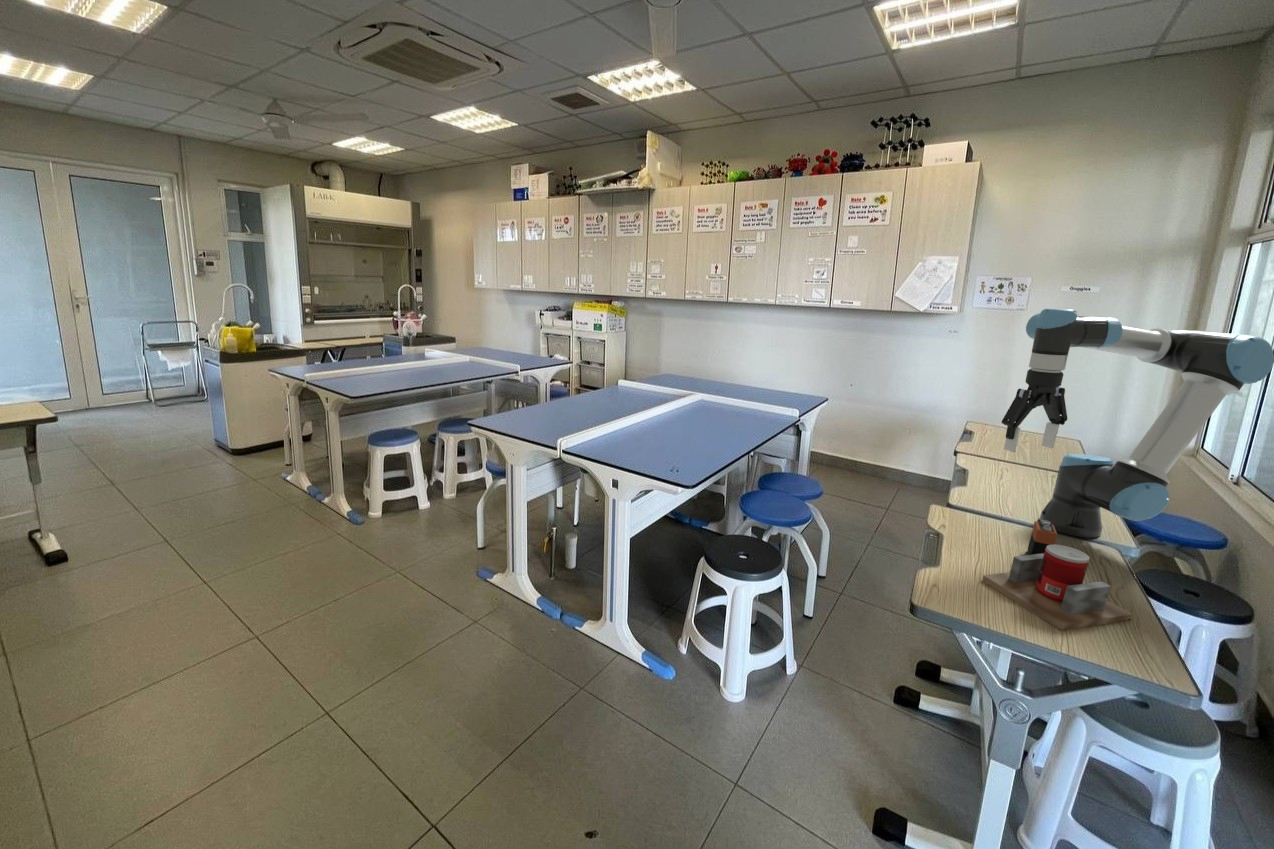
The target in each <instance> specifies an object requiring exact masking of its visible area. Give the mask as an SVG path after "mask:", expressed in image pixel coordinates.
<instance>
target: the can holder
mask: <svg viewBox="0 0 1274 849" xmlns="http://www.w3.org/2000/svg"><path fill="white" fill-rule="evenodd" d="M1043 556H1044V553H1043V554H1034V555H1029V554H1028V555H1027V554H1026V555H1025V554H1024V555H1017V556H1016V555H1015V556H1013V558H1012V563H1011V564H1012V565H1011V568H1010V571H1008V572H1001V573H1000V572H998V573H991V574H984V575H982V580H981V581H982V582H983V583H985V584H987V585H988V586H990V587H991V588H992V589H994V590H997V591H998V592H999V593H1001V594H1002V595H1004V596H1005V597H1007V598H1009V599H1010V600H1012V601H1013V602H1015V603H1016V604H1018V605H1020V606H1022V607H1023V608H1025V609H1026V610H1028V611H1029V612H1030V613H1032V614H1034V615H1035V616H1037V617H1038V618H1040V619H1042V620H1043V621H1045V622H1047V623H1048V624H1049V625H1051V626H1053V627H1055V628H1056V629H1058V630H1060V631H1069V630H1075V629H1081V628H1082V629H1083V628H1087V627H1093V626H1099V625H1106V624H1112V623H1120V622H1124V620H1126V621H1129V620H1128V619H1131V620H1132V617H1133V613H1132V612H1129V611H1128V610H1126V609H1124V608H1123V607H1120V606H1119V605H1117V604H1115V603H1113V602H1111V601H1110V600H1108V597H1109V593H1110V590H1111V587H1112V586H1111V585H1110V584H1108V583H1106V582H1105V581H1095V582H1092V581H1091V582H1088V583H1087V582H1086V583H1083V584H1077V585H1070V586H1067V588H1066V591H1065V595H1064V599H1063V602H1058V601H1054V600H1051V599H1049V598H1047V597H1045V596H1043V595H1042V594H1040V593H1039V592H1038V591H1037V588H1036V583H1037V579H1038V576H1039V572H1040V568H1041V564H1042V560H1043ZM1119 621H1120V622H1119Z"/></svg>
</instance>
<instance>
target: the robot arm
mask: <svg viewBox="0 0 1274 849" xmlns="http://www.w3.org/2000/svg"><path fill="white" fill-rule="evenodd" d="M1025 331H1026V335H1027V336H1028V337H1029V338H1031V339H1033V343H1032V349H1031V354H1030V359H1029V364H1028V367H1029V368H1030V369H1028V370H1027V372H1026V377H1025V384H1027V385H1028V387H1027V389H1024V388H1023V389H1022V388H1018V389H1017V391H1016V394H1015V397H1014V398H1013V400H1012V403H1011V404H1010V406H1009V408H1007V411H1006V413H1005V414H1004V416H1003V418H1002V419H1001V424H1002V425H1004V426H1006V427H1007V428H1006V432H1005V443H1004V446H1003V450H1004V451H1009V452H1010V453H1011V452H1012V453H1015V452H1017V447H1018V442H1019V438H1020V432H1021V427H1019V426H1020V425H1021V424H1022V422H1023V421H1024V420H1025V419H1026V418H1027V417H1028V416H1029V414H1030V413H1031V412H1032V410H1033V409H1036V408H1037V407H1041V406H1042V407H1043V409H1044V411H1045V414H1046V416H1047V418H1048V420H1049V421H1047V422H1046V423H1045V428H1044V433H1043V437H1042V442H1041V447H1042V446H1043V447H1045V448H1050V449H1054V448H1055V444H1056V439H1057V435H1058V433H1059V428H1060V425H1062V426H1063V425H1064V424H1065V423H1066V422H1067V421H1068V412H1067V405H1066V399H1065V395H1066V394H1065V392H1066V388H1065V387H1060V386H1062V383H1063V379H1064V373H1063V371H1065V370H1066V367H1067V366H1066V365H1067V361H1068V357H1069V352H1070V348H1085V349H1088V350H1089V349H1090V350H1096V351H1101V352H1105V353H1106V352H1107V353H1111V354H1119V355H1124V356H1130V357H1134V358H1137V360H1139V362H1143V363H1148V364H1152V365H1157V366H1159V367H1164V368H1167V369H1169V370H1170V369H1171V370H1174V371H1177V372H1180V373H1181V374H1180V376H1181V377H1182V380H1183V382H1182V384H1181V385H1180V387H1179V388H1178V390H1177V391H1176V392H1175V393H1174V394H1173V397H1171V399H1170V400H1169V401H1168V403H1167V404H1166V406H1165V407H1164V409H1163V410H1162V412H1160V414H1158V417H1156V420H1155V421H1154V422H1153V424H1152V425H1151V426H1150V428H1149V429H1148V431H1147V432H1146V433H1145V434H1144V436H1143V437H1142V438H1141V440H1140V441H1139V442H1138V445H1136V447H1135V448H1134V450H1132V452H1131V454H1130V455H1129V456H1128V457H1127V458H1124V459H1123V458H1122V459H1118V460H1117V461H1115V464H1114V460H1113V458H1109V457H1105V456H1101V455H1100V456H1099V455H1094V454H1083V453H1069V454H1066V455H1064V456H1063V457H1062V459H1061V462H1060V465H1059V467H1058V472H1057V477H1056V480H1055V486H1054V489H1053V494H1052V496H1051V498H1050V500H1049V502H1048V503H1047V504H1046V505H1045V506H1044V508H1043V509H1042V511H1041V513H1040V515H1039V522H1041V521H1042V520H1046V521H1049V522H1050V524H1052V525H1054V528H1055V530H1056V532H1059V533H1062V534H1066V535H1071V536H1074V537H1081V538H1098V537H1100V536H1101V535H1102V531H1103V523H1102V514H1101V508H1102V509H1105V510H1106V511H1108V512H1110V513H1112V514H1114V515H1116V516H1118V517H1122V518H1124V519H1126V520H1130V521H1135V522H1140V521H1145V520H1149V519H1152V518H1155V517H1157V516H1158V515H1160V514H1161V513H1162V512H1163V511H1164V510H1165V509H1166V507H1167V506H1168V504H1169V502H1170V499H1169V498H1170V492H1169V490H1168V489H1167V486H1168V485H1169V483H1170V481H1169V478H1168V476H1167V474H1168V472H1169V471H1170V470H1171V469H1172V467H1173V466H1174V465H1175V463H1176V462H1177V461H1178V460H1179V458H1180V457H1181V455H1182V454H1183V453H1184V452H1185V451H1186V449H1187V447H1189V445H1190V443H1191V442H1192V440H1194V438H1195V437H1196V436H1197V435H1198V434H1199V432H1200V430H1201V429H1202V428H1203V426H1204V425H1205V424H1206V423H1207V422H1208V420H1209V418H1210V417H1211V416H1212V415H1213V413H1214V412H1215V410H1216V409H1217V408H1218V406H1219V405H1220V404H1221V403H1222V401H1223V400H1224V398H1226V396H1229V395H1233V394H1238V393H1239V391H1240V390H1241V389H1242V388H1243V386H1244V385H1245V384H1246V385H1249V384H1256V383H1258V382H1260V381H1262V380H1264V379H1265V378H1266V377H1267V376H1268V375H1269V374H1270V372H1271V370H1272V368H1273V366H1274V349H1273V347H1272V345H1271V344H1270V342H1268V340H1266V339H1264V338H1263V337H1260V336H1253V335H1249V334H1245V333H1239V334H1237V333H1229V332H1228V333H1227V332H1216V331H1204V330H1181V329H1180V330H1177V329H1175V330H1173V329H1163V328H1151V329H1149V330H1148V329H1147V330H1146V329H1143V328H1142V329H1141V328H1136V327H1130V326H1124V325H1122V323H1121V322H1120V320H1118V319H1117V318H1115V317H1107V316H1099V317H1098V316H1085V315H1081V316H1080V315H1078V311H1077V310H1076V309H1075V308H1074V309H1071V308H1044V309H1042V310H1041V311H1040V313H1036V314H1034V315H1032V316H1031V317H1030V318H1029V319H1028V321H1027V323H1026V326H1025Z"/></svg>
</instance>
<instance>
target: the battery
mask: <svg viewBox="0 0 1274 849" xmlns="http://www.w3.org/2000/svg"><path fill="white" fill-rule="evenodd" d="M1057 532H1058V531H1056V530H1055V528H1054V525H1052V524H1050V522H1049V521H1046V520H1042V521H1041V522H1040V521H1034V523H1033V527H1032V531H1031V535H1030V538H1029V543H1028V546H1027V553H1028V555H1034V554H1043V553H1044V552H1045V549H1046V547H1047V546H1048V545H1053V544H1054V545H1056V541H1057V538H1058V533H1057Z"/></svg>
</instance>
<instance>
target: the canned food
mask: <svg viewBox="0 0 1274 849" xmlns="http://www.w3.org/2000/svg"><path fill="white" fill-rule="evenodd" d="M1089 563H1090V556H1089V555H1088V554H1087V553H1085V552H1083V551H1081V550H1079V549H1076V548H1074V547H1072V546H1071V547H1070V546H1067V545H1062V544H1055V545H1054V544H1053V545H1048V546H1047V547H1046V549H1045V552H1044V556H1043V560H1042V564H1041V568H1040V572H1039V576H1038V579H1037V583H1036V588H1037V591H1038V592H1039V593H1040V594H1042V595H1043V596H1045V597H1047V598H1049V599H1051V600H1054V601H1058V602H1063V599H1064V595H1065V591H1066V588H1067V586H1070V585H1077V584H1084V580H1085V578H1086V573H1087V570H1088V567H1089Z"/></svg>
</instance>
